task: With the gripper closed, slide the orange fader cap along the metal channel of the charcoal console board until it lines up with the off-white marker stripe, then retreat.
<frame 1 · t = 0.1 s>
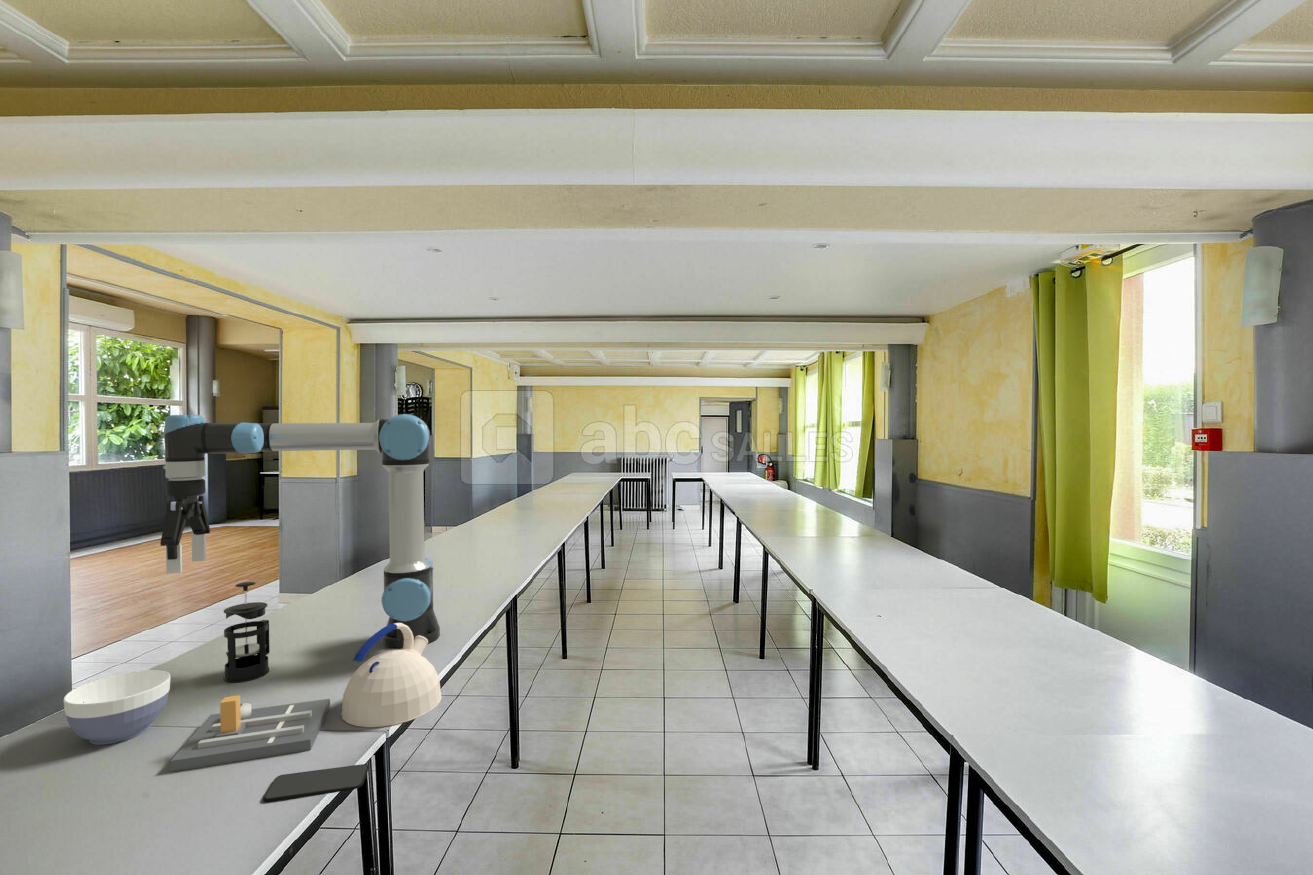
hand: (187, 566, 143), 28 cm above the table, fingers open, 13 cm apart
french press: (248, 674, 148), on the table
kettle: (393, 706, 131), on the table
bowl: (120, 733, 119), on the table
smartphone: (318, 786, 102), on the table
fader tab: (230, 716, 114), point 6 cm above the table, slide at 0.0 cm
console board: (258, 736, 118), on the table
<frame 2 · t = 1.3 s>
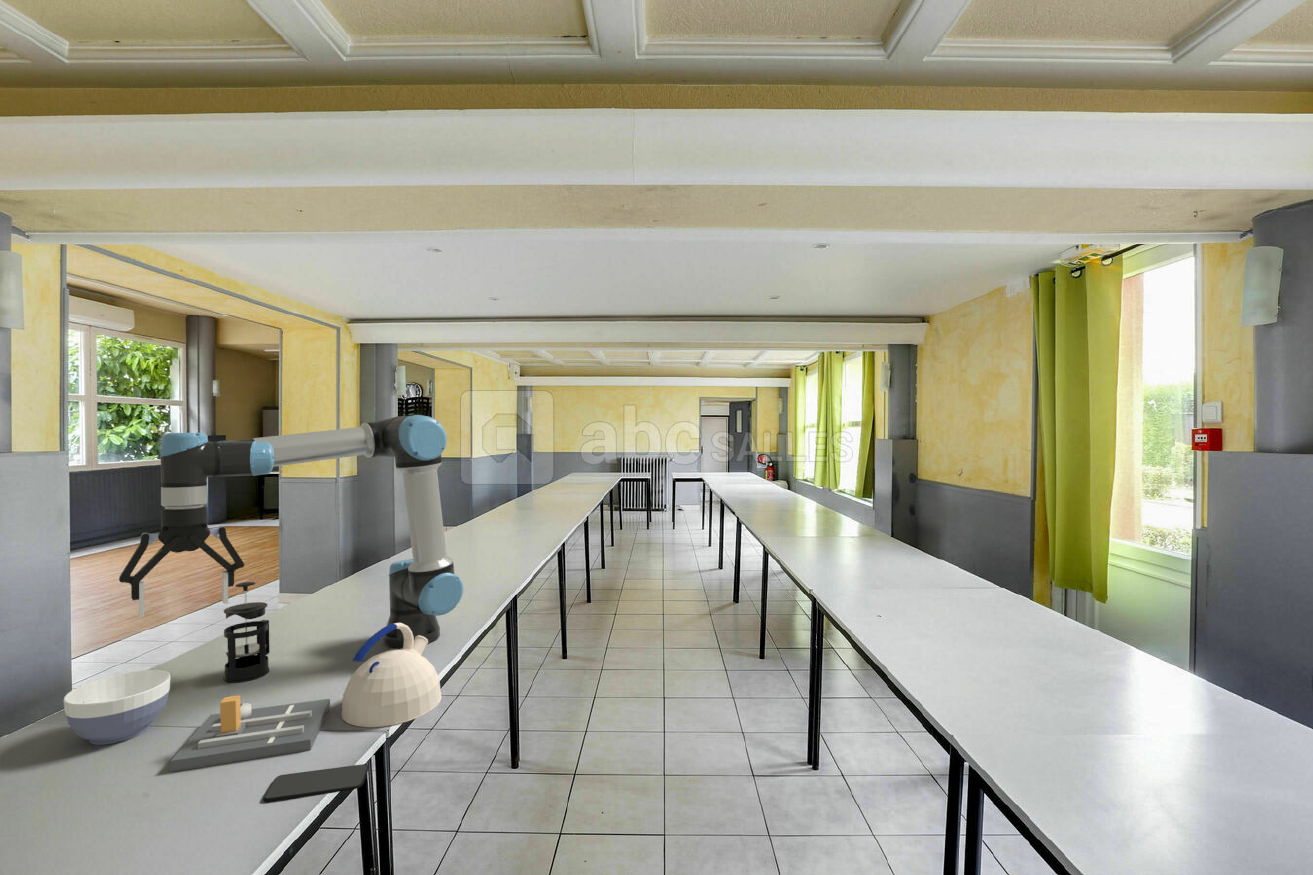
hand: (185, 608, 123), 24 cm above the table, fingers open, 13 cm apart
nothing on the table moved.
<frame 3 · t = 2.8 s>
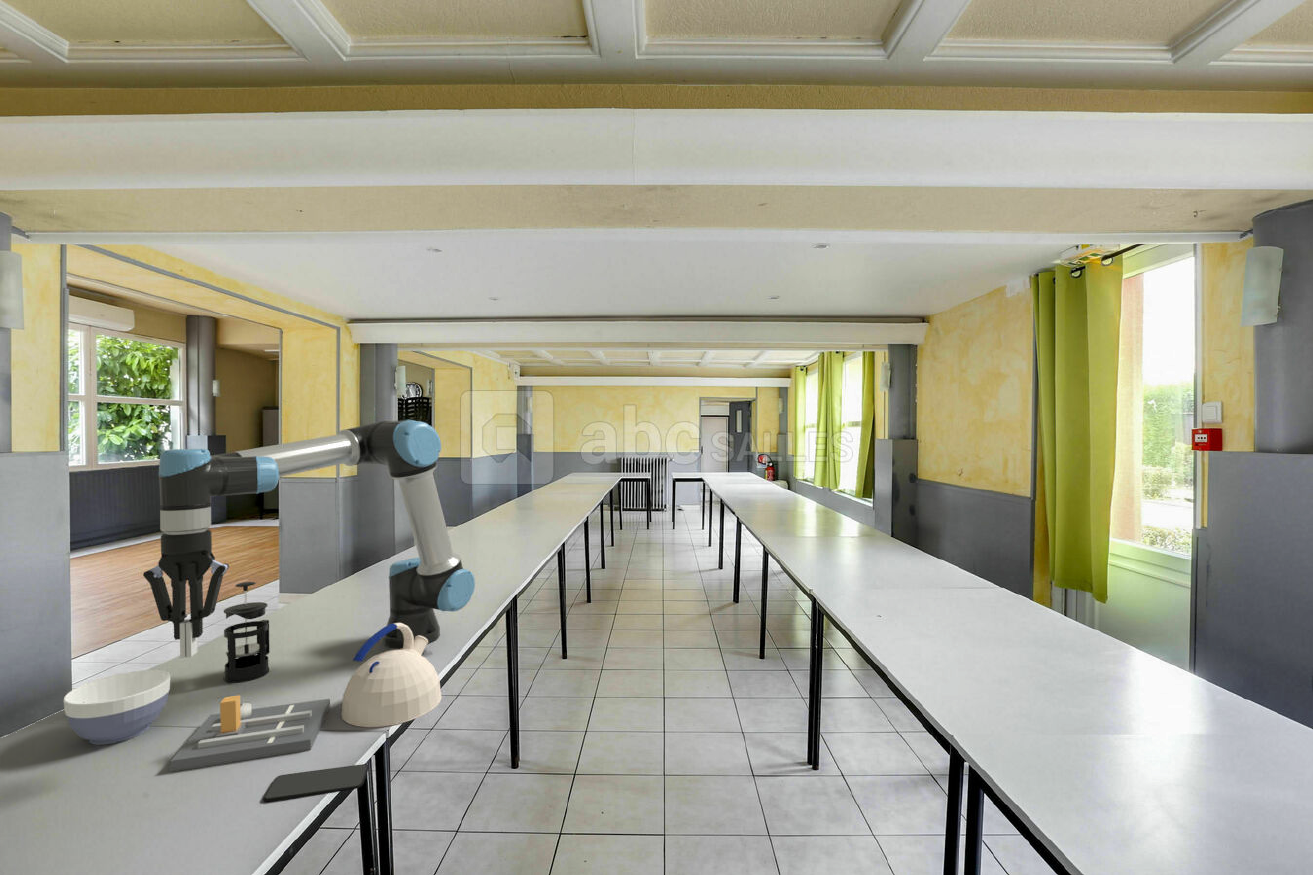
hand: (188, 654, 112), 18 cm above the table, fingers closed
nothing on the table moved.
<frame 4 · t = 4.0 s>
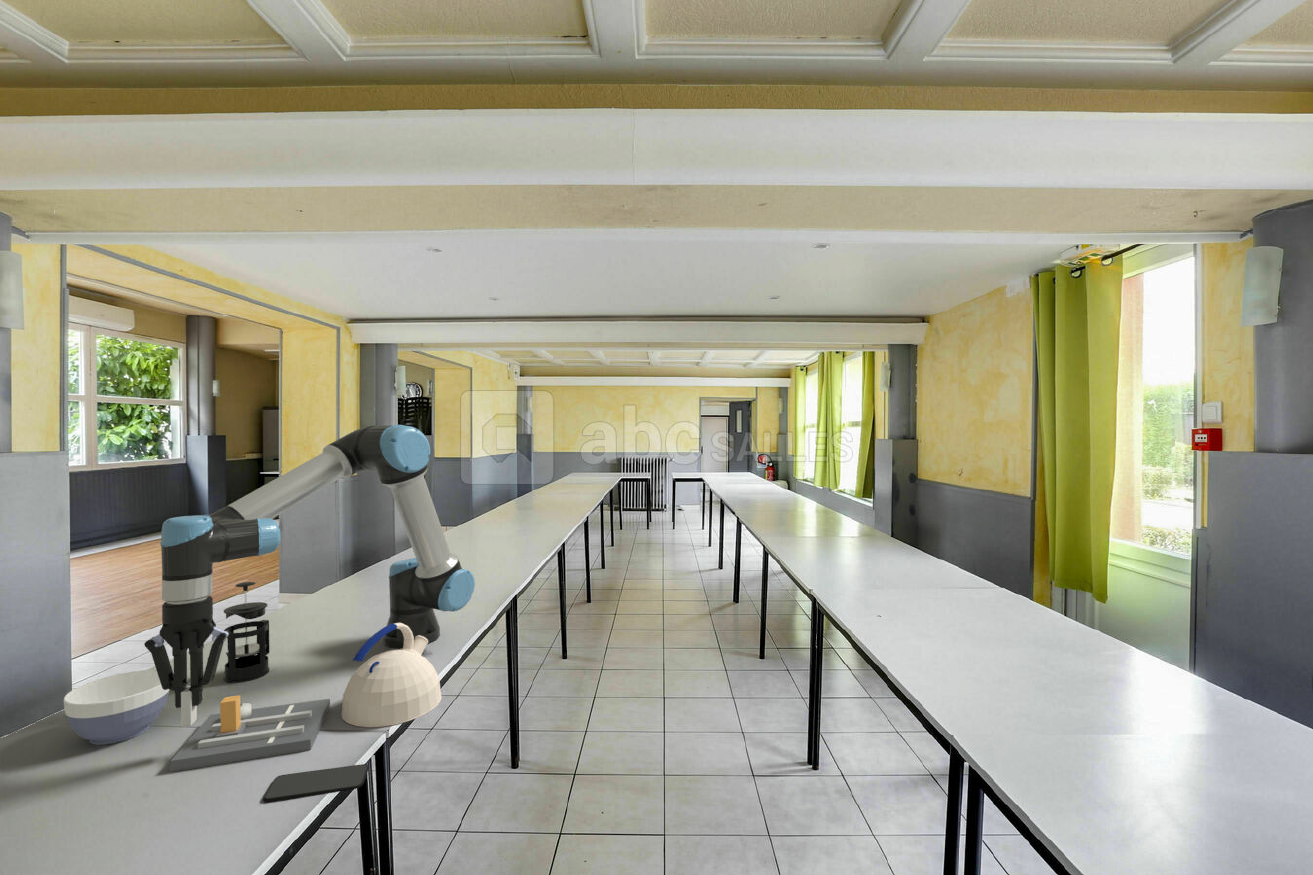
hand: (189, 722, 112), 6 cm above the table, fingers closed
nothing on the table moved.
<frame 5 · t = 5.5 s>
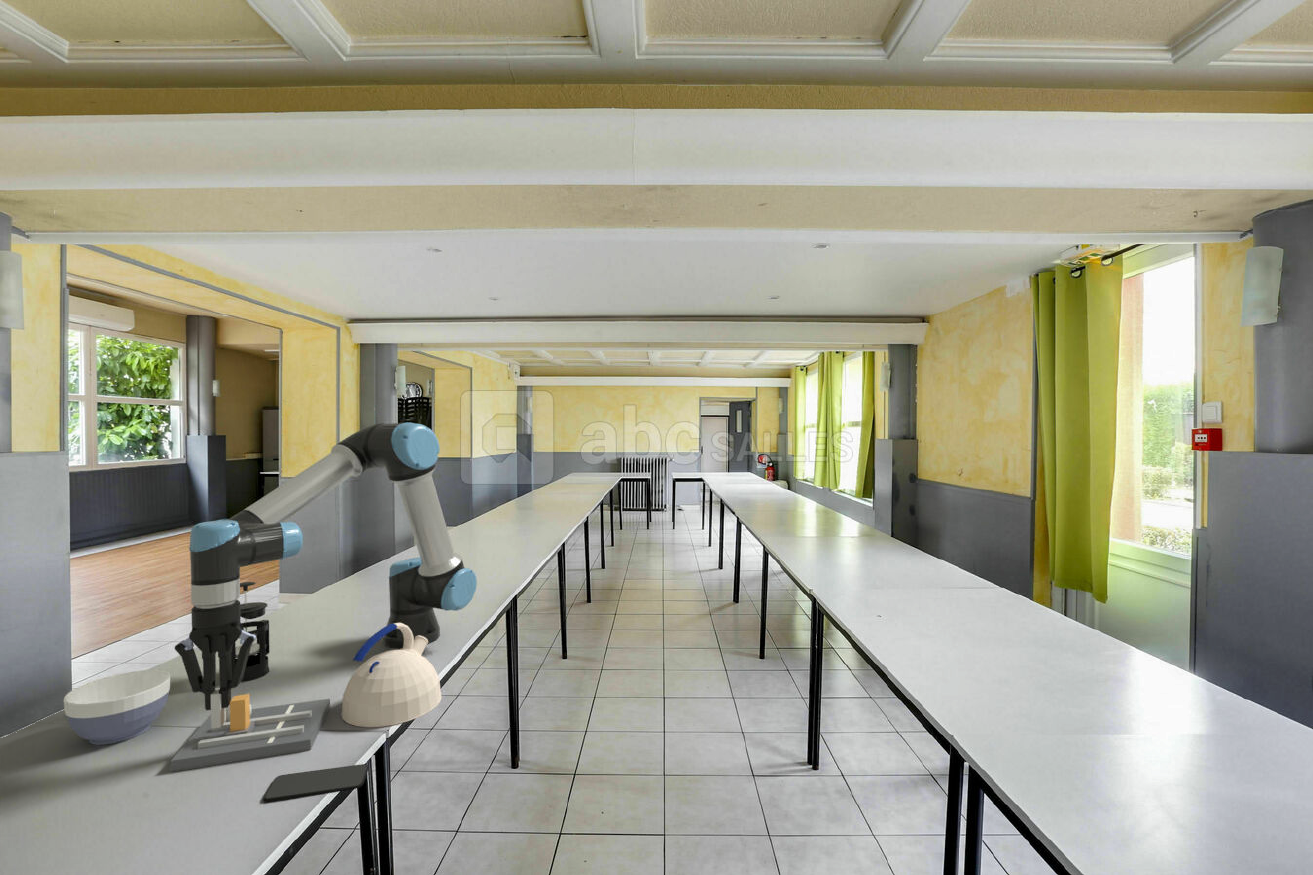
hand: (218, 724, 114), 4 cm above the table, fingers closed
fader tab: (240, 715, 115), point 6 cm above the table, slide at 1.6 cm, touching gripper
everything else where it was.
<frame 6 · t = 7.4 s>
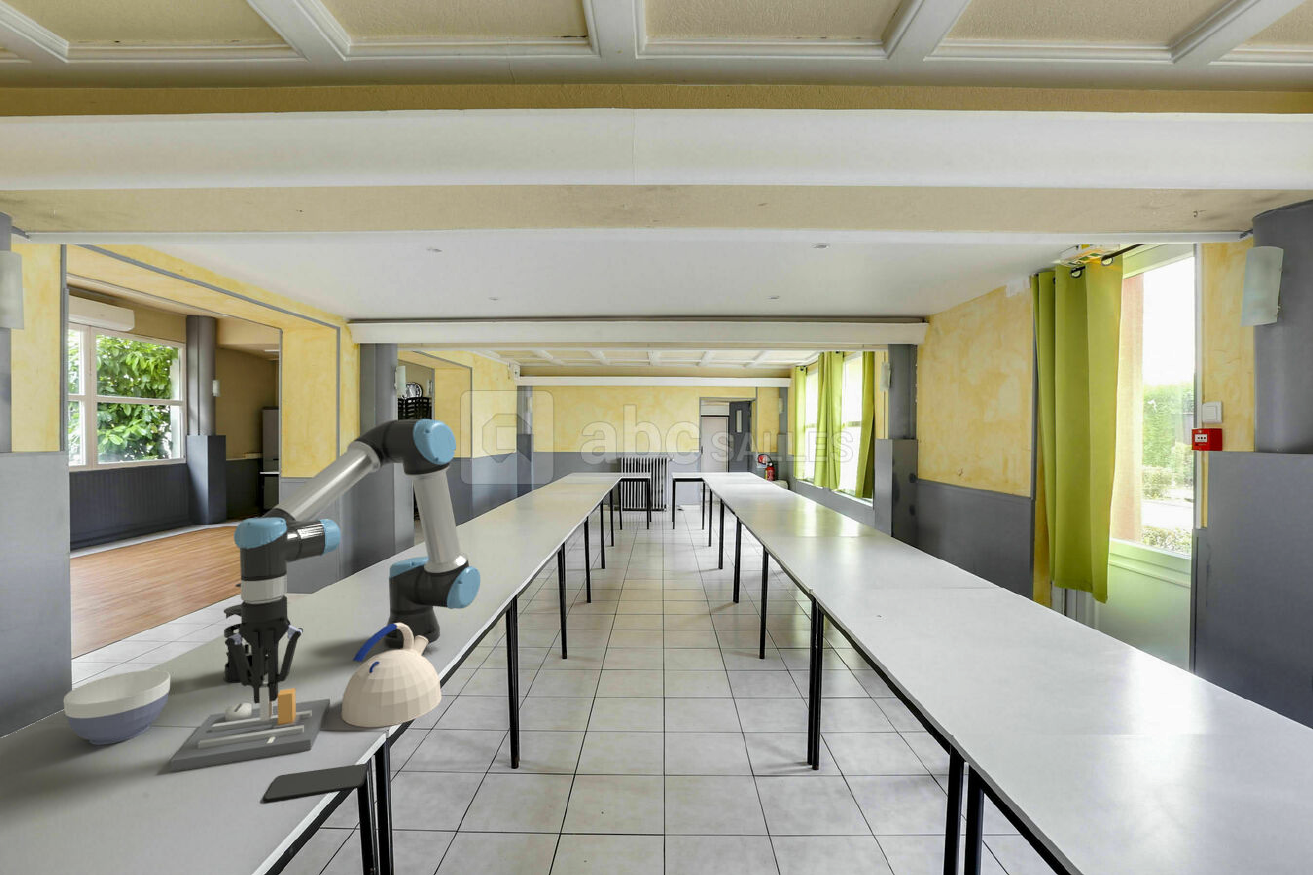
hand: (266, 717, 116), 4 cm above the table, fingers closed
fader tab: (286, 708, 117), point 6 cm above the table, slide at 9.5 cm, touching gripper
everything else where it was.
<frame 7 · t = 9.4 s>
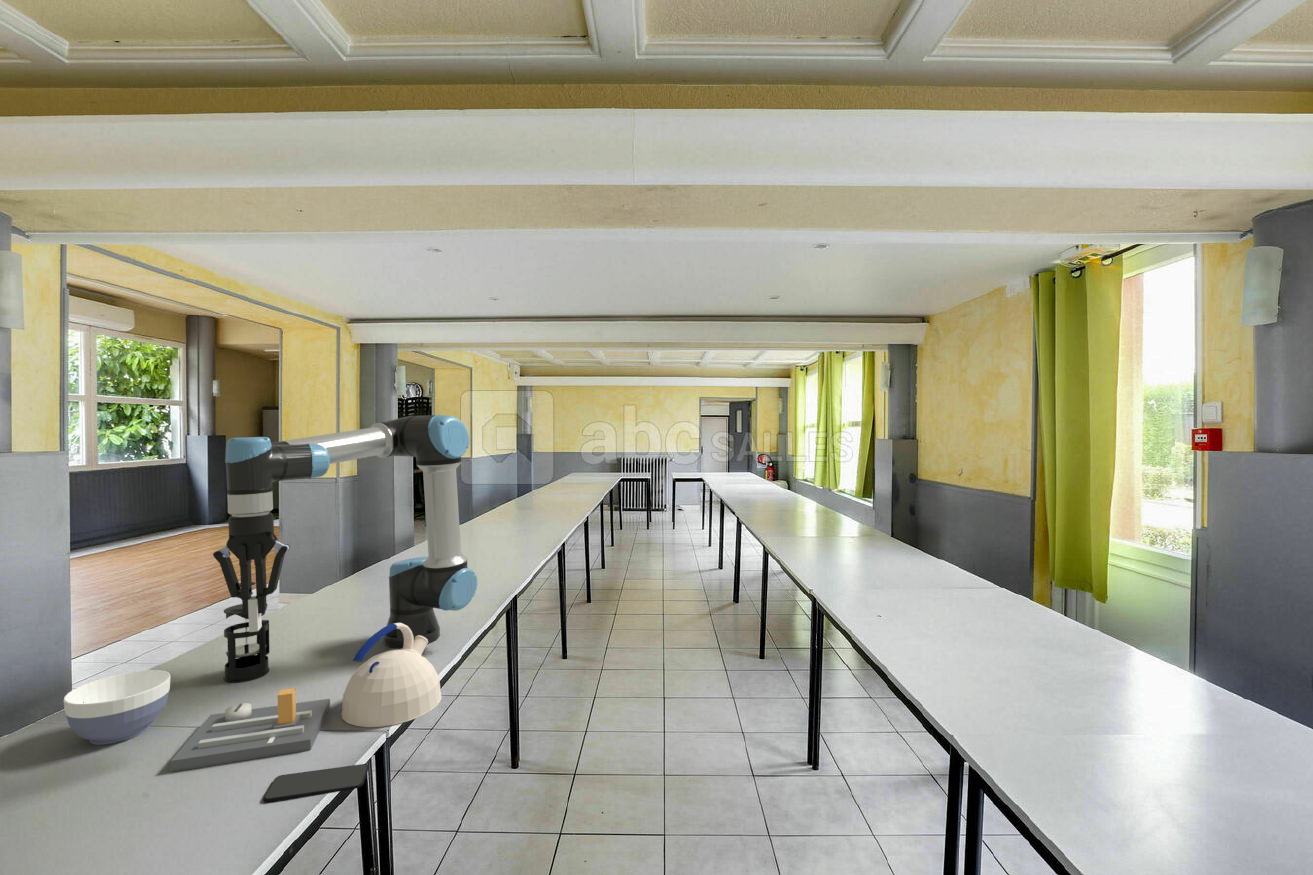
hand: (255, 629, 120), 20 cm above the table, fingers closed
fader tab: (286, 708, 117), point 6 cm above the table, slide at 9.5 cm
everything else where it was.
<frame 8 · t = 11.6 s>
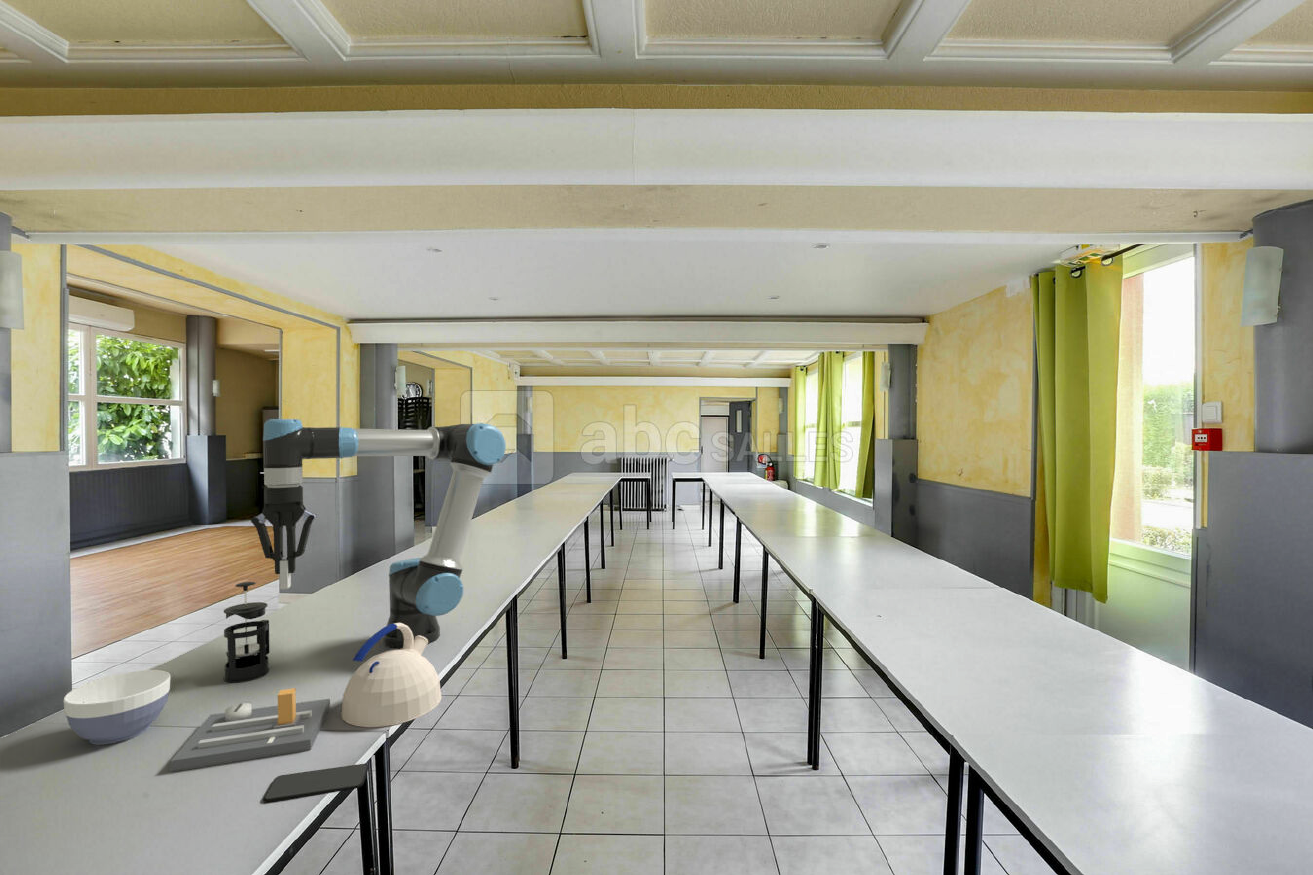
hand: (285, 587, 137), 24 cm above the table, fingers closed
nothing on the table moved.
at the end: fader tab slide at 9.5 cm; fader tab touching nothing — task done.
